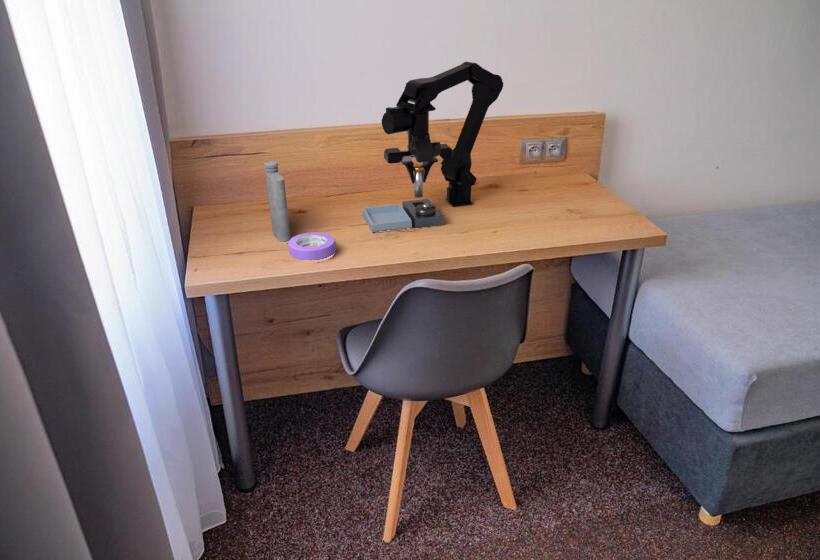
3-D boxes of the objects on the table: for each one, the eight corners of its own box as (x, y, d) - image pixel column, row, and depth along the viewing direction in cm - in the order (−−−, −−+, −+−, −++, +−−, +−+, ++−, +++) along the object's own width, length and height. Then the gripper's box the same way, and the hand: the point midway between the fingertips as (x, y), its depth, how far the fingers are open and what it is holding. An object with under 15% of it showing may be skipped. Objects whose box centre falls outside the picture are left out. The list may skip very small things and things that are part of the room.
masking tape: (292, 245, 166) (290, 232, 164) (336, 244, 166) (335, 230, 165) (287, 265, 156) (286, 251, 154) (334, 263, 156) (333, 249, 154)
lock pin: (422, 193, 184) (422, 163, 179) (426, 197, 180) (426, 167, 176) (410, 194, 183) (410, 164, 179) (414, 198, 180) (414, 168, 175)
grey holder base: (428, 208, 188) (428, 191, 186) (442, 225, 176) (442, 207, 174) (402, 211, 186) (402, 193, 184) (415, 228, 174) (415, 210, 172)
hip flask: (291, 243, 167) (283, 170, 157) (276, 245, 166) (267, 172, 156) (283, 221, 180) (275, 153, 171) (269, 223, 179) (260, 154, 170)
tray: (400, 211, 186) (399, 203, 185) (411, 228, 175) (411, 220, 173) (362, 215, 183) (362, 207, 182) (372, 233, 172) (371, 224, 171)
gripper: (392, 138, 163) (393, 195, 171) (460, 133, 168) (458, 188, 175) (382, 128, 173) (384, 182, 180) (447, 123, 177) (446, 176, 185)
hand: (418, 182), depth 180 cm, fingers closed on lock pin, 3 cm apart
